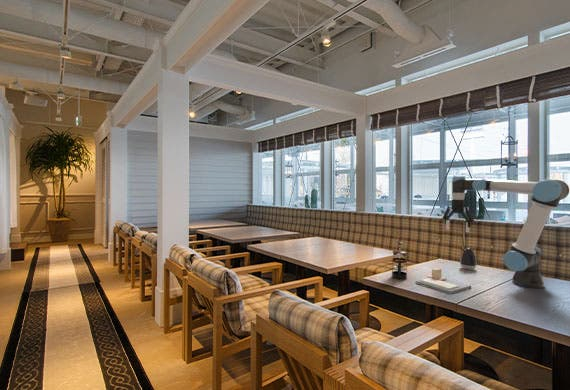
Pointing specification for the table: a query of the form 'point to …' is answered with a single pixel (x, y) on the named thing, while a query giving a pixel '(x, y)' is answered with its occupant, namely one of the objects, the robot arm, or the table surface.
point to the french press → (399, 265)
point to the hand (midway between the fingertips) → (457, 231)
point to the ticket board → (444, 285)
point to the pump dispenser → (468, 259)
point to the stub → (436, 274)
